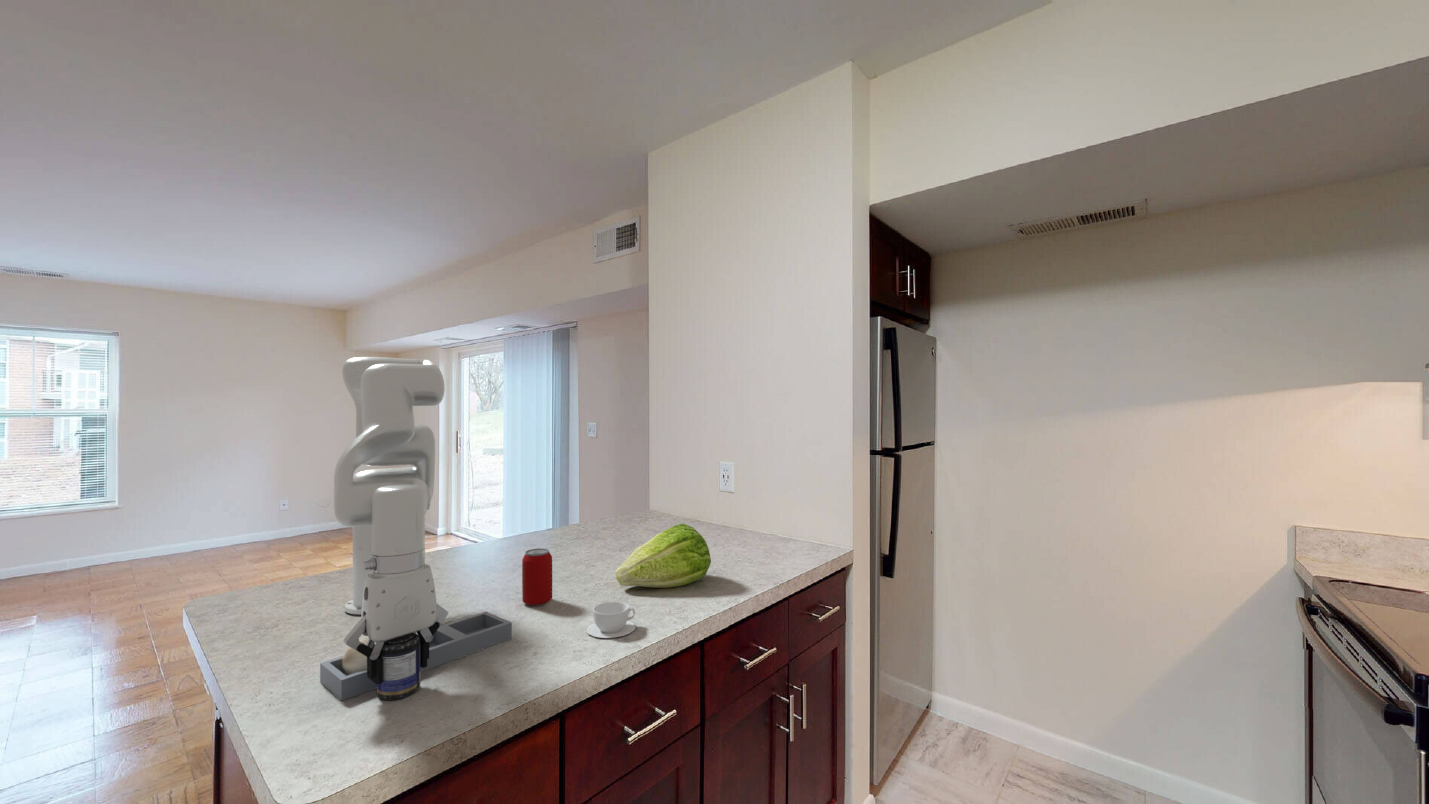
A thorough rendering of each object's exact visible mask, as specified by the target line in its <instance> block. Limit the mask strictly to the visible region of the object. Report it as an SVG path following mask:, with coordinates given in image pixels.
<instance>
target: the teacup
mask: <svg viewBox="0 0 1429 804" xmlns="http://www.w3.org/2000/svg"><path fill="white" fill-rule="evenodd" d="M631 611H632V614H631V615H630V614H629V613H630V612H631ZM592 614H593V620H594V622H593V623H592V624H590V625H589V626H588V627H587V628H586V632H587V634H588V635H590V636H592V637H595V638H599V639H600V638H602V639H613V638H618V637H619V638H620V637H623V636H626V635H629V634H631V633H632V632H634V631H635V630H636V627H637V625H636V624H635V623H634V622H633V621H631V620H632V619H633V618H634V617H635V614H636V610H635V609H634V607H632V606H631V607H630V605H629V604H628V603H626V602H623V601H606V602H601V603H599V604H596V605H595V606H594V607H592ZM629 615H630V616H629Z"/></svg>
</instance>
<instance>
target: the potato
mask: <svg viewBox="0 0 1429 804" xmlns="http://www.w3.org/2000/svg"><path fill="white" fill-rule="evenodd" d="M368 639H369V638H364V639H359V641H360V642H362V643H363V644H365V645H366V644H367V642H368ZM342 656H343V659H342V667H343V669H344V671H345V673H346V674H347V675H351V674H354V673H357V672H360V671H363V670H366V669H367V657H366V656H365V655H363V654H361V653H360V652H358V651H356V650H355V649H353V648H351V647H349V646H348V648H346V651H345V652H344V653H343V655H342Z"/></svg>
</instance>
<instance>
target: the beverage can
mask: <svg viewBox="0 0 1429 804" xmlns="http://www.w3.org/2000/svg"><path fill="white" fill-rule="evenodd" d="M521 567H522V568H521V570H522V571H521V577H522V578H521V581H522V582H521V587H522V588H521V590H522V592H521V593H522V603H524V604H525V605H527V606H530V607H539V606H543V605H546V604H548V602H550V601H551V600H552V599H553V555H552V554H551V551H550V549H548V548H543V547H542V548H532V549H527V550H526V551H525V553H524V556H523V557H522V560H521Z"/></svg>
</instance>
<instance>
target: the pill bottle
mask: <svg viewBox="0 0 1429 804" xmlns="http://www.w3.org/2000/svg"><path fill="white" fill-rule="evenodd" d="M380 657H381V658H382V659H383V682H382V683H381V684H378V685H377V688H376V690H377V691H376V693H377V696H378V699H381V700H386V701H394V700H399V699H403V698H406V697H408V696H411V695H413V694H414V693H415V692H417V690H418V689H419V688H420V686H421V672H420V637H419V636H418V635H417V634H416V632H414V633H410V634H407V635H404V636H401V637H397V638H394V639H391V640H387V641H384V644H383V646H382V649H381V651H380Z"/></svg>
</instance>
